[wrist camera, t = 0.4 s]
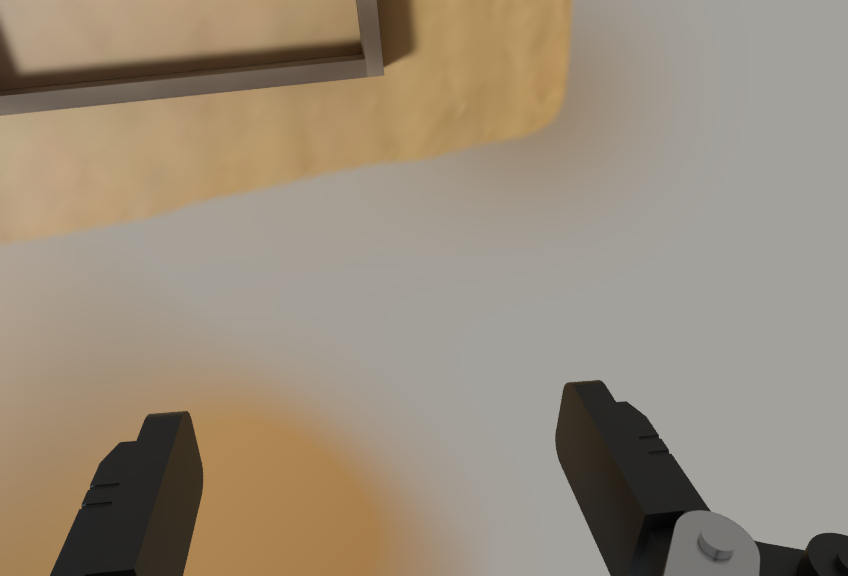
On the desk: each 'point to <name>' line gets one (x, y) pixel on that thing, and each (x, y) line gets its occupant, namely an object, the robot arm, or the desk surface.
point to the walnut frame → (207, 77)
